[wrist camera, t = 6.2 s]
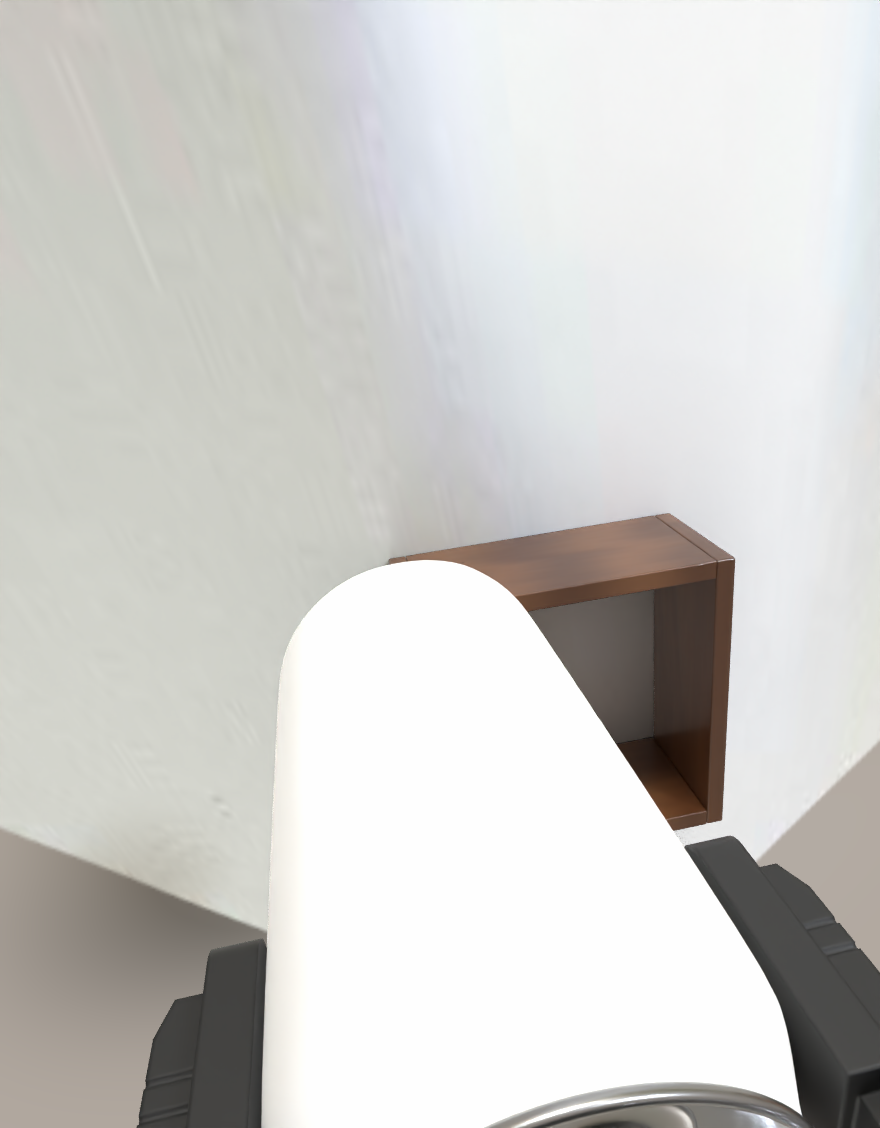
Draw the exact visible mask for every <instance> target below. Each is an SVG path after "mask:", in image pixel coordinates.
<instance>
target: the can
mask: <svg viewBox="0 0 880 1128" xmlns="http://www.w3.org/2000/svg"><path fill="white" fill-rule="evenodd" d="M261 1128H815V1127H814V1126H813V1125H812V1124H811V1123H810V1122H809V1121H808V1120H807V1119H806V1118H804V1117H803V1116H802V1113H801V1109H800V1104H799V1098H798V1091H797V1084H796V1078H795V1071H794V1065H793V1058H792V1052H791V1047H790V1042H789V1037H788V1032H787V1028H786V1024H785V1021H784V1017H783V1014H782V1010H781V1008H780V1005H779V1002H778V1000H777V998H776V996H775V994H774V992H773V990H772V988H771V986H770V984H769V982H768V980H767V978H766V976H765V974H764V973H763V971H762V969H761V967H760V966H759V964H758V962H757V961H756V959H755V958H754V956H753V954H752V953H751V951H750V949H749V948H748V946H747V945H746V943H745V941H744V940H743V938H742V936H741V935H740V933H739V932H738V930H737V928H736V927H735V925H734V924H733V922H732V921H731V919H730V918H729V916H728V915H727V913H726V911H725V910H724V908H723V907H722V905H721V904H720V902H719V901H718V899H717V898H716V896H715V894H714V893H713V891H712V890H711V888H710V887H709V885H708V884H707V882H706V881H705V879H704V877H703V876H702V874H701V873H700V871H699V870H698V868H697V867H696V865H695V864H694V862H693V861H692V859H691V858H690V856H689V854H688V853H687V851H686V850H685V848H684V847H683V845H682V844H681V842H680V841H679V839H678V838H677V836H676V835H675V833H674V832H673V830H672V829H671V827H670V826H669V824H668V822H667V821H666V819H665V818H664V816H663V815H662V813H661V812H660V810H659V809H658V807H657V806H656V804H655V803H654V801H653V800H652V798H651V797H650V795H649V794H648V792H647V791H646V789H645V787H644V786H643V784H642V783H641V781H640V780H639V778H638V777H637V775H636V774H635V772H634V771H633V769H632V768H631V766H630V765H629V763H628V762H627V760H626V759H625V757H624V756H623V754H622V753H621V751H620V750H619V748H618V747H617V745H616V744H615V742H614V741H613V739H612V738H611V736H610V734H609V733H608V731H607V730H606V728H605V727H604V725H603V724H602V722H601V721H600V719H599V718H598V716H597V715H596V713H595V712H594V710H593V709H592V707H591V706H590V704H589V703H588V701H587V700H586V698H585V697H584V695H583V694H582V692H581V691H580V689H579V688H578V686H577V685H576V683H575V682H574V680H573V679H572V677H571V676H570V674H569V673H568V671H567V670H566V668H565V667H564V665H563V664H562V662H561V661H560V659H559V658H558V656H557V655H556V653H555V652H554V650H553V649H552V647H551V646H550V644H549V643H548V641H547V640H546V638H545V637H544V635H543V634H542V633H541V631H540V630H539V628H538V627H537V625H536V624H535V622H534V621H533V619H532V618H531V617H530V615H529V614H528V613H527V611H526V610H525V609H524V607H523V606H522V605H521V604H520V602H519V601H518V600H517V599H516V598H515V597H514V596H513V595H512V594H511V593H510V592H509V591H508V590H507V589H506V588H504V587H503V586H502V585H500V584H499V583H498V582H496V581H495V580H493V579H492V578H490V577H488V576H486V575H485V574H483V573H481V572H479V571H477V570H475V569H472V568H470V567H468V566H465V565H461V564H458V563H453V562H447V561H435V560H422V561H409V562H402V563H396V564H391V565H386V566H382V567H378V568H375V569H371V570H369V571H366V572H363V573H361V574H359V575H357V576H354V577H352V578H351V579H349V580H347V581H345V582H344V583H342V584H340V585H339V586H337V587H336V588H334V589H333V590H332V591H330V592H329V593H328V594H327V595H325V596H324V597H323V598H322V599H321V600H320V601H319V602H318V603H317V604H316V605H315V606H314V607H313V608H312V609H311V610H310V611H309V612H308V614H307V615H306V616H305V617H304V619H303V620H302V621H301V623H300V624H299V626H298V627H297V629H296V631H295V633H294V634H293V636H292V638H291V640H290V643H289V645H288V647H287V650H286V653H285V656H284V660H283V664H282V669H281V675H280V684H279V696H278V713H277V732H276V752H275V773H274V795H273V817H272V839H271V862H270V886H269V909H268V933H267V958H266V983H265V1008H264V1037H263V1067H262V1115H261Z"/></svg>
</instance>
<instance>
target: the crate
mask: <svg viewBox="0 0 880 1128" xmlns="http://www.w3.org/2000/svg"><path fill="white" fill-rule="evenodd" d="M422 560H435V561H447V562H453V563H458V564H461V565H465V566H468V567H470V568H472V569H475V570H477V571H479V572H481V573H483V574H485V575H486V576H488V577H490V578H492V579H493V580H495V581H496V582H498V583H499V584H500V585H502V586H503V587H504V588H506V589H507V590H508V591H509V592H510V593H511V594H512V595H513V596H514V597H515V598H516V599H517V600H518V601H519V602H520V604H521V605H522V606H523V607H524V609H525V610H526V611H527V612H528V611H533V610H539V609H545V608H550V607H556V606H562V605H567V604H573V603H579V602H585V601H590V600H596V599H602V598H607V597H613V596H619V595H625V594H630V593H636V592H642V591H647V590H653V589H654V738H653V737H651V738H646V739H641V740H636V741H631V742H626V743H621V744H616V745H617V747H618V748H619V750H620V751H621V753H622V754H623V756H624V757H625V759H626V760H627V762H628V763H629V765H630V766H631V768H632V769H633V771H634V772H635V774H636V775H637V777H638V778H639V780H640V781H641V783H642V784H643V786H644V787H645V789H646V791H647V792H648V794H649V795H650V797H651V798H652V800H653V801H654V803H655V804H656V806H657V807H658V809H659V810H660V812H661V813H662V815H663V816H664V818H665V819H666V821H667V822H668V824H669V826H670V827H671V829H672V830H673V831H675V830H680V829H685V828H689V827H694V826H699V825H703V824H706V822H707V823H712V822H716V821H721V820H722V811H723V791H724V771H725V751H726V731H727V711H728V691H729V671H730V651H731V631H732V611H733V591H734V571H735V558H734V557H733V556H731V555H730V554H728V553H727V552H725V551H724V550H722V549H721V548H719V547H718V546H717V545H715V544H714V543H712V542H711V541H709V540H708V539H706V538H705V537H703V536H702V535H700V534H699V533H698V532H696V531H695V530H693V529H692V528H690V527H689V526H687V525H686V524H684V523H683V522H681V521H680V520H679V519H677V518H676V517H674V516H673V515H671V514H669V513H668V514H662V515H656V516H648V517H642V518H636V519H630V520H624V521H618V522H612V523H606V524H600V525H593V526H587V527H581V528H575V529H569V530H563V531H557V532H551V533H545V534H539V535H532V536H526V537H520V538H514V539H508V540H502V541H496V542H490V543H484V544H478V545H471V546H465V547H459V548H453V549H447V550H441V551H435V552H429V553H423V554H417V555H410V556H406V558H405V557H399V558H393V559H389V565H391V564H396V563H402V562H409V561H422Z"/></svg>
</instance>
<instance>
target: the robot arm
mask: <svg viewBox="0 0 880 1128" xmlns="http://www.w3.org/2000/svg"><path fill="white" fill-rule="evenodd" d="M684 848H685V850H686V851H687V853H688V854H689V856H690V858H691V859H692V861H693V862H694V864H695V865H696V867H697V868H698V870H699V871H700V873H701V874H702V876H703V877H704V879H705V881H706V882H707V884H708V885H709V887H710V888H711V890H712V891H713V893H714V894H715V896H716V898H717V899H718V901H719V902H720V904H721V905H722V907H723V908H724V910H725V911H726V913H727V915H728V916H729V918H730V919H731V921H732V922H733V924H734V925H735V927H736V928H737V930H738V932H739V933H740V935H741V936H742V938H743V940H744V941H745V943H746V945H747V946H748V948H749V949H750V951H751V953H752V954H753V956H754V958H755V959H756V961H757V962H758V964H759V966H760V967H761V969H762V971H763V973H764V974H765V976H766V978H767V980H768V982H769V984H770V986H771V988H772V990H773V992H774V994H775V996H776V998H777V1000H778V1002H779V1005H780V1008H781V1010H782V1014H783V1017H784V1021H785V1024H786V1028H787V1032H788V1037H789V1042H790V1047H791V1052H792V1058H793V1065H794V1071H795V1078H796V1084H797V1091H798V1098H799V1104H800V1109H801V1113H802V1116H803V1117H804V1118H806V1119H807V1120H808V1121H809V1122H810V1123H811V1124H812V1125H813V1126H814V1127H815V1128H880V972H879V971H878V970H877V969H876V967H875V966H874V965H873V964H872V962H871V961H870V960H869V959H868V957H867V956H866V955H865V954H864V953H863V951H862V950H861V949H858V948H857V947H856V945H855V942H854V940H853V939H852V938H851V937H850V936H849V934H848V933H847V932H846V930H845V929H844V928H843V927H842V926H841V925H840V923H836V921H835V918H834V916H833V915H832V913H831V912H830V911H829V910H828V908H827V907H826V906H825V905H824V903H823V902H822V901H821V900H820V899H819V897H818V896H817V895H816V894H815V892H814V891H813V890H812V889H811V888H810V887H809V886H808V885H807V884H805V883H804V882H802V881H801V880H799V879H798V878H796V877H795V876H793V875H792V874H790V873H789V872H788V871H786V870H784V869H783V868H782V867H780V866H779V865H778V864H772V865H768V866H763V867H759V866H758V865H757V863H756V862H755V861H754V859H753V858H752V857H751V855H750V854H749V853H748V852H747V850H746V849H745V848H744V846H743V845H742V844H741V843H740V841H739V840H737V839H736V838H735V837H733V836H726V837H722V838H717V839H713V840H708V841H704V842H699V843H695V844H690V845H686V846H685V847H684ZM266 958H267V947H266V944H265V942H264V940H263V939H258V940H253V941H248V942H244V943H239V944H235V945H231V946H226V947H222V948H217V949H213V950H211V951H210V953H209V956H208V961H207V968H206V975H205V983H204V991H203V994H199V995H195V996H190V997H186V998H182V999H177V1000H175V1001H174V1003H173V1005H172V1006H171V1008H170V1010H169V1012H168V1014H167V1015H166V1017H165V1019H164V1021H163V1023H162V1024H161V1026H160V1028H159V1030H158V1032H157V1034H156V1035H155V1037H154V1039H153V1043H152V1048H151V1054H150V1059H149V1064H148V1070H147V1075H146V1080H145V1081H146V1089H144V1091H143V1096H142V1102H141V1107H140V1112H139V1125H138V1126H137V1128H261V1115H262V1067H263V1037H264V1008H265V983H266Z"/></svg>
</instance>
